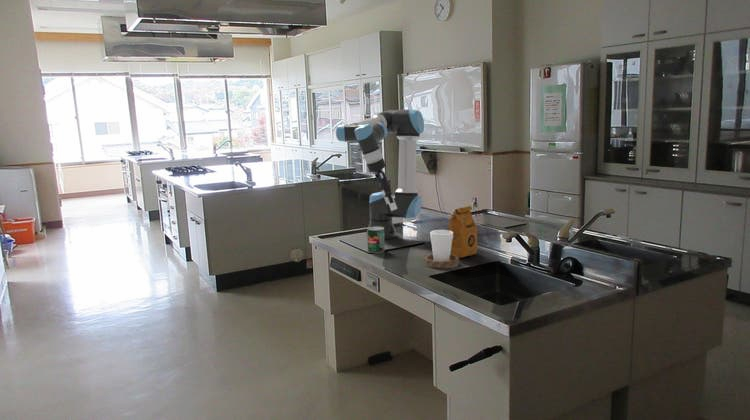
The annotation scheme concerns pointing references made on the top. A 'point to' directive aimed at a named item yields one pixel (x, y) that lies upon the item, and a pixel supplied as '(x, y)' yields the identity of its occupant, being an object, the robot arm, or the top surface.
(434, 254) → the foam cup
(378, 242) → the canned tomato
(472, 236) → the coffee package
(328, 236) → the top surface
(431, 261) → the walnut ring holder
